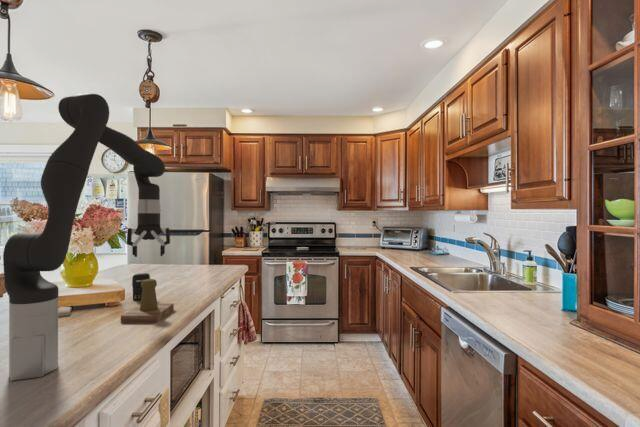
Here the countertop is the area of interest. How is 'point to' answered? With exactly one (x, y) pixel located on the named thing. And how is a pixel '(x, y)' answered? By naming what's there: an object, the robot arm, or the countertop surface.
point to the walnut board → (146, 314)
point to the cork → (148, 295)
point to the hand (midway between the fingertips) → (148, 256)
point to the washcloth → (64, 311)
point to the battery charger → (138, 284)
